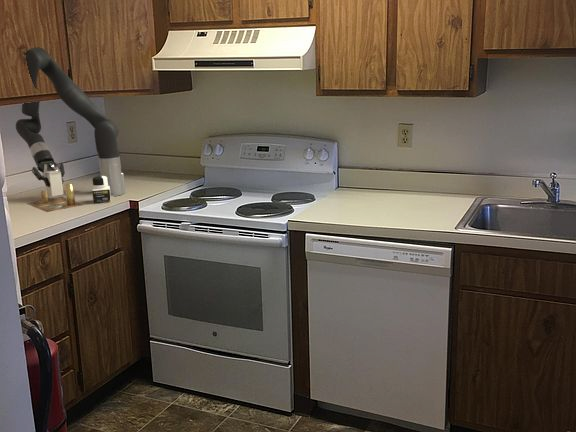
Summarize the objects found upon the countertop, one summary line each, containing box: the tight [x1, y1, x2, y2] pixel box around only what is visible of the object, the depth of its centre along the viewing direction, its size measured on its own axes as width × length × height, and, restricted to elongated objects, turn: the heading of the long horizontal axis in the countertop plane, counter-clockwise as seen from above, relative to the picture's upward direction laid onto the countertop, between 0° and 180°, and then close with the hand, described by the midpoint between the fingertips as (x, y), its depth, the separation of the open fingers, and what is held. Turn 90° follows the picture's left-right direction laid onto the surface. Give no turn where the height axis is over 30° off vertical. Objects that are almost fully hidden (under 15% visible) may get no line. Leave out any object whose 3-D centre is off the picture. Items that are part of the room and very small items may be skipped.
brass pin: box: [64, 182, 76, 206], centre depth 268 cm, size 3×3×9 cm
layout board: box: [25, 190, 85, 213], centre depth 272 cm, size 16×24×6 cm, turn 41°
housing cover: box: [45, 170, 64, 197], centre depth 279 cm, size 5×6×10 cm
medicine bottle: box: [91, 175, 112, 205], centre depth 273 cm, size 7×7×12 cm
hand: (55, 184), depth 278 cm, fingers closed on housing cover, 5 cm apart
